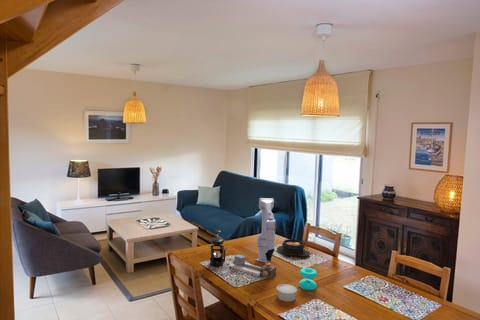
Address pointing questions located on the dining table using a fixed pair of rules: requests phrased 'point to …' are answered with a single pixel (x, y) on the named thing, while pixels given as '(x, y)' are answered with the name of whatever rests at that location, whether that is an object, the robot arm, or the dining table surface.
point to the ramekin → (286, 292)
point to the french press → (217, 258)
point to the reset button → (268, 265)
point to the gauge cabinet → (268, 272)
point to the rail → (247, 268)
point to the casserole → (293, 248)
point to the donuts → (308, 279)
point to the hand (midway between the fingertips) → (268, 260)
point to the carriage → (240, 259)
